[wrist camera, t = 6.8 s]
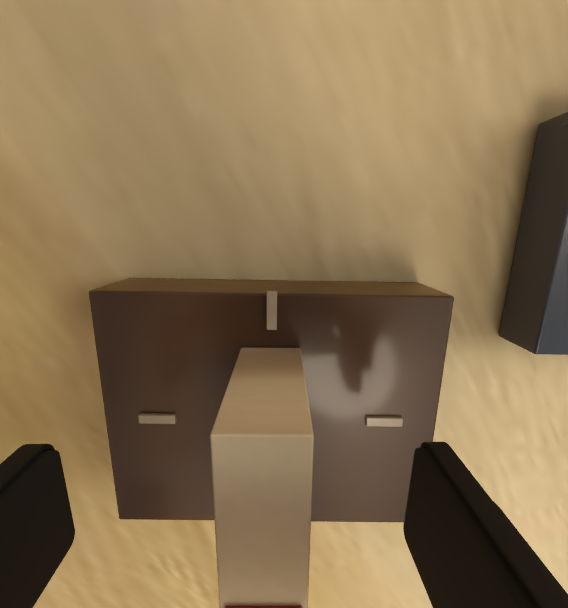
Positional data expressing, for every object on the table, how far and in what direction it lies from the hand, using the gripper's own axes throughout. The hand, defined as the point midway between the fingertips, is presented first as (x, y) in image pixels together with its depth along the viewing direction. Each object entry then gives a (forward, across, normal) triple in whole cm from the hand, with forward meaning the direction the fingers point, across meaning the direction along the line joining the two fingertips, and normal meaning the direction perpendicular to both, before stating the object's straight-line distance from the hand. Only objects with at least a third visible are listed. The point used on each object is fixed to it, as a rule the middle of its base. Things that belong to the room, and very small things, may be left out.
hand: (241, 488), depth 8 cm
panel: (+7, -1, +1) cm, 7 cm away
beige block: (+4, -1, +1) cm, 4 cm away
